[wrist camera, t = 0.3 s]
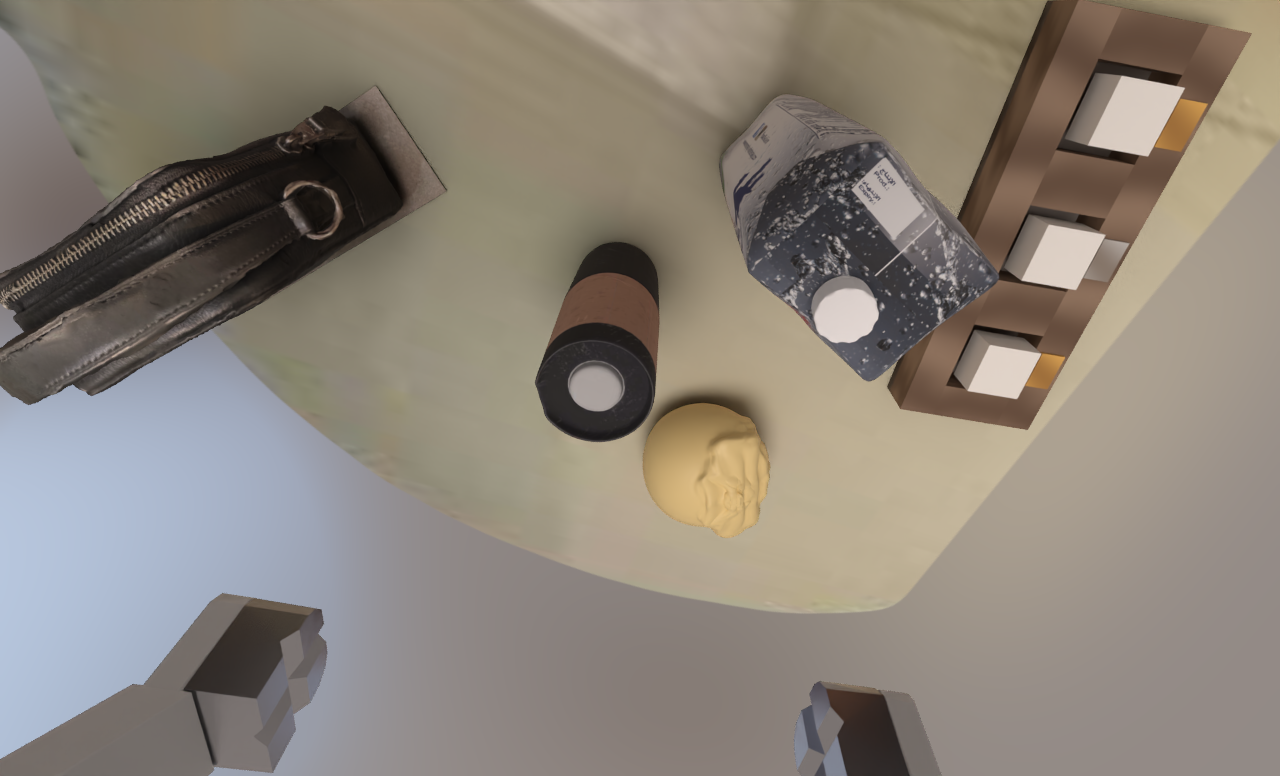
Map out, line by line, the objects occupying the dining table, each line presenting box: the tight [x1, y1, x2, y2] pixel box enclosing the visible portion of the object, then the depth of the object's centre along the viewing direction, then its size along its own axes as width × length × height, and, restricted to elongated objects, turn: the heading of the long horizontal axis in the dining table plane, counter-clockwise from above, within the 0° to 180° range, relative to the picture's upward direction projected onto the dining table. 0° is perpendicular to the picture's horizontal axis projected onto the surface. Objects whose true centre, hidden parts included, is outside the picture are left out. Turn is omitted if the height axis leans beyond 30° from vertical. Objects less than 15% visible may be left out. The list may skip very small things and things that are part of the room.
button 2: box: [1065, 73, 1185, 157], centre depth 44 cm, size 4×4×3 cm
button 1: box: [954, 330, 1041, 399], centre depth 54 cm, size 4×4×3 cm
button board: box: [887, 0, 1252, 430], centre depth 51 cm, size 32×12×4 cm, turn 171°
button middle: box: [1004, 214, 1105, 290], centre depth 49 cm, size 4×4×3 cm
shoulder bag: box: [0, 86, 446, 405], centre depth 42 cm, size 23×9×28 cm, turn 119°
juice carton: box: [719, 94, 999, 381], centre depth 40 cm, size 9×10×27 cm
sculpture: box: [643, 403, 770, 538], centre depth 60 cm, size 11×12×11 cm
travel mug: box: [535, 243, 659, 442], centre depth 48 cm, size 8×8×20 cm
